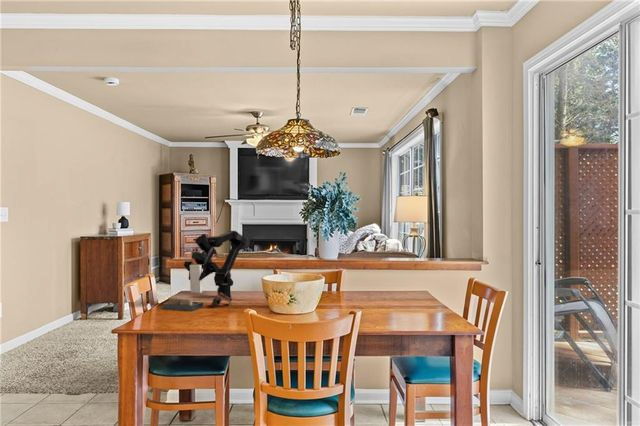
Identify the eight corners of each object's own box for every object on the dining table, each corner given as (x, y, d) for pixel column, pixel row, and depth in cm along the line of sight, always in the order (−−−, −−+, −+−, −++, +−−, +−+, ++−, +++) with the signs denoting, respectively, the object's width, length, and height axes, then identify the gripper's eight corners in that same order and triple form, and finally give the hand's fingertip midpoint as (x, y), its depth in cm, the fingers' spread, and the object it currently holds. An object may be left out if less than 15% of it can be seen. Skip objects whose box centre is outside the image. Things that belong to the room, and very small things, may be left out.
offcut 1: (172, 307, 231) (171, 297, 231) (181, 308, 229) (181, 298, 229) (169, 308, 229) (169, 298, 229) (178, 309, 227) (178, 298, 227)
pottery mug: (213, 306, 240) (221, 291, 241) (228, 315, 238) (236, 300, 239) (204, 304, 229) (212, 289, 230) (219, 314, 226) (228, 298, 227)
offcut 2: (182, 308, 229) (182, 298, 229) (192, 309, 227) (192, 298, 227) (179, 309, 227) (179, 299, 227) (189, 310, 225) (189, 299, 225)
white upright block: (192, 291, 241) (191, 264, 241) (202, 292, 239) (201, 265, 239) (190, 292, 240) (189, 265, 240) (200, 292, 238) (199, 265, 237)
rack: (175, 306, 238) (175, 299, 238) (204, 308, 231) (204, 302, 231) (161, 310, 228) (161, 303, 228) (191, 313, 222) (191, 306, 222)
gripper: (185, 245, 246) (171, 269, 236) (215, 246, 239) (202, 270, 229) (194, 259, 254) (182, 282, 244) (224, 260, 247) (212, 284, 237)
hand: (194, 279), depth 238 cm, fingers closed on white upright block, 6 cm apart
